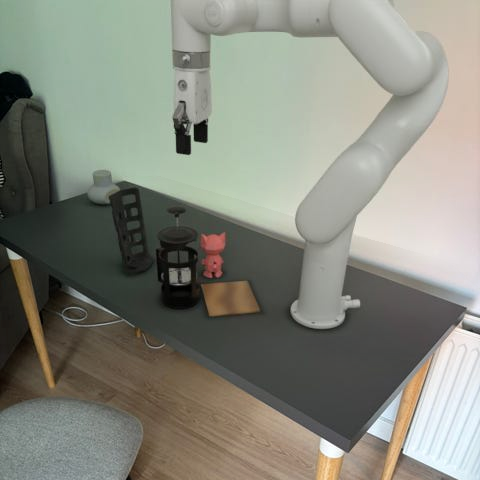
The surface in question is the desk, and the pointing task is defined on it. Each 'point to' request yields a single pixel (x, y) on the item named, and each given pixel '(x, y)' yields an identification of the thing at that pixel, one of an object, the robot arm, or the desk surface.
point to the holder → (124, 233)
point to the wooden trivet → (229, 298)
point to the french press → (177, 264)
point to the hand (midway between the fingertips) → (192, 147)
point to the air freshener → (102, 187)
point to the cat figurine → (212, 253)
